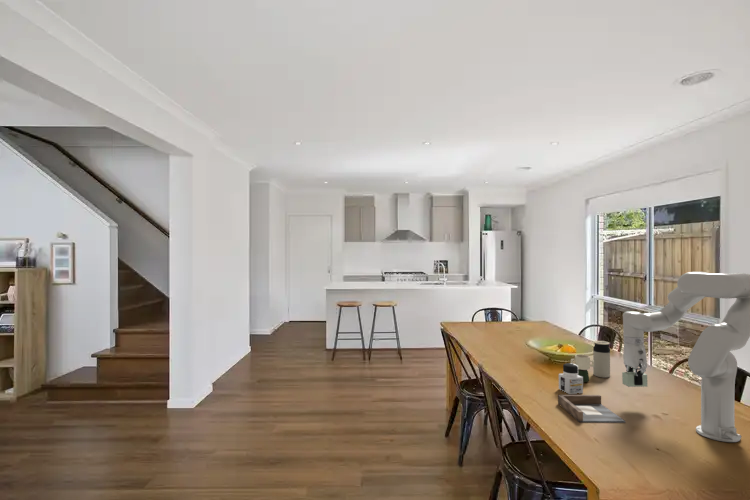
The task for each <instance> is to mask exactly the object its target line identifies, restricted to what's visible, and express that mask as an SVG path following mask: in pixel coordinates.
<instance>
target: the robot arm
mask: <svg viewBox="0 0 750 500" xmlns="http://www.w3.org/2000/svg"><path fill="white" fill-rule="evenodd" d="M676 283H677V284H676V286H677V287H675V288H674V289H673V290H671V291H670V292H669V293H668V294H667V300H668V303H667V304H666V305H665V306H664V307H662V308H661V309H660V310H658V311H655V312H647V313H642V312H640V311H631V310H630V311H624V312H623V314H622V328H623V335H622V336H623V337H622V338H623V350H622V351H623V354H622V356H623V357H622V358H623V364H624V366H625V369H626V371H625V372H635V375H634V384H635V385H643V378H642V376H643V374H645V373H646V372H647V369H648V359H647V351H646V347H645V336H644V335H645V332H647V333H651V332H652V333H653V332H659V331H665V330H667V329H669V328H671V327H672V326H674V325H675V324H676V323H677V322H679V321H680V320H681V319H682V318H683V317H684V316H685V315H686V313H687V312H688V310H690V309H691V308H693V306H695V305H697V303H699V302H701V301H702V300H704V298H713V299H714V298H715V299H727V300H728V299H735V301H734V302H733V304H732V305H731V306H730V307H729V309H728V310H727V312H726V314H725V316H724V318H723V319H722V321H721V322H720V323H717V324H711V325H709V326H707V327H706V328H705V329H703V331H702V332H700V335H699V336H698V339H697V340H696V342H695V344H694V346H693V348H692V349H691V351H690V354H688V355H689V356H688V359H687V360H688V361H687V365H688V368H689V369H690V371H691V372H692V373H693V374H694V375H696V376H697V377H699V378H701V383H700V424H699V425H696V427H695V432H697V434H699V435H700V436H703V437H705V438H708V439H710V440H713V441H718V442H723V443H737V442H740V441H741V439H742V435H741V434H739V433H738V432H737V428H736V427H735V422H736V421H735V393H736V392H735V390H736V389H735V384H736V376H737V373H738V361H737V358H736V356H735V355H734V353H732V352H733V351H737V350H740V349H742V348H744V347H745V346H746V344H747V343H748V341H749V339H750V274H749V273H744V272H743V273H739V272H737V273H709V272H707V271H687V272H686V273H683V274H682V275H680V277H679V278H678V279H677V282H676Z"/></svg>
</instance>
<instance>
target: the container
mask: <svg viewBox="0 0 750 500" xmlns="http://www.w3.org/2000/svg"><path fill="white" fill-rule="evenodd" d="M562 368H563V371H562V372H563V373H558V390H559V389H560V390H559V391H561V390H562V391H561V392H563V391H564V393H565V392H566V394H567V395H578V394H577V393H579V394H584V382H583V377H582V376H579V375H578V366H577V365H576V364H572V363H571V362H569V363H567V362H566V363H564V364H563V366H562Z"/></svg>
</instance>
